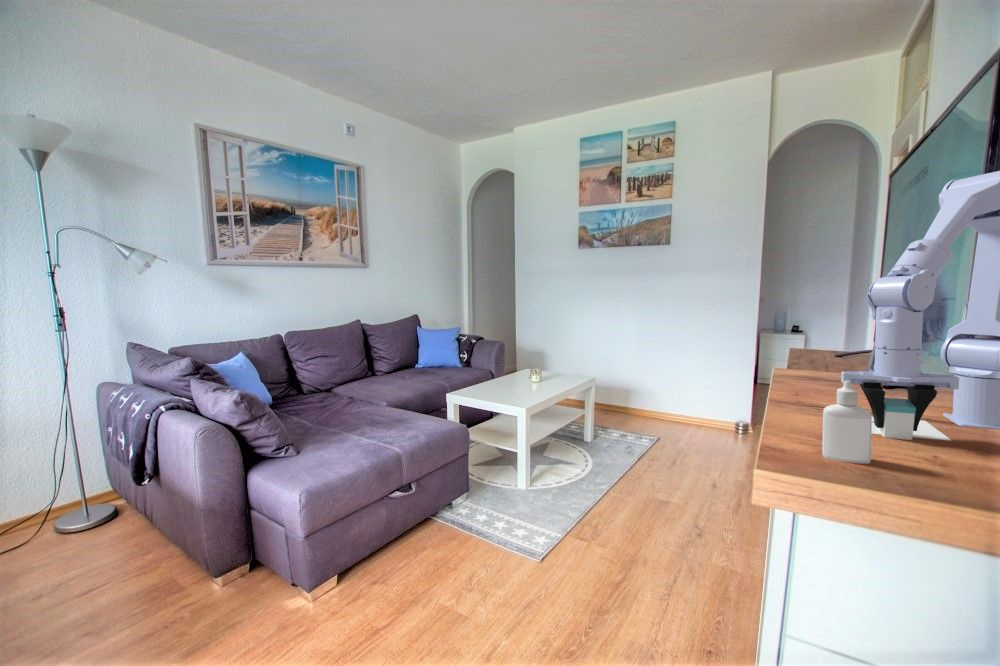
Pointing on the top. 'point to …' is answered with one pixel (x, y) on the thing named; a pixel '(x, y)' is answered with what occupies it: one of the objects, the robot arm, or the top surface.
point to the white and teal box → (898, 418)
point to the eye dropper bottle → (847, 428)
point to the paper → (919, 431)
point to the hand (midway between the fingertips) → (895, 427)
